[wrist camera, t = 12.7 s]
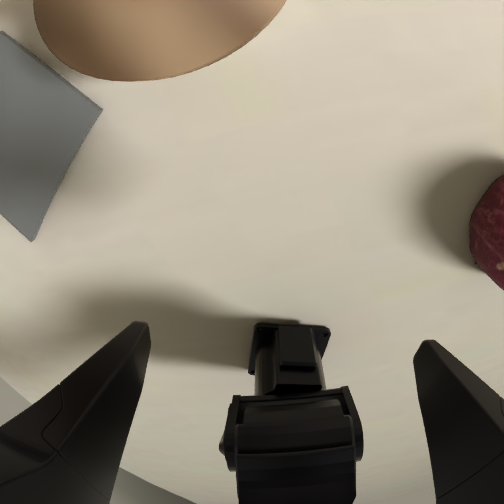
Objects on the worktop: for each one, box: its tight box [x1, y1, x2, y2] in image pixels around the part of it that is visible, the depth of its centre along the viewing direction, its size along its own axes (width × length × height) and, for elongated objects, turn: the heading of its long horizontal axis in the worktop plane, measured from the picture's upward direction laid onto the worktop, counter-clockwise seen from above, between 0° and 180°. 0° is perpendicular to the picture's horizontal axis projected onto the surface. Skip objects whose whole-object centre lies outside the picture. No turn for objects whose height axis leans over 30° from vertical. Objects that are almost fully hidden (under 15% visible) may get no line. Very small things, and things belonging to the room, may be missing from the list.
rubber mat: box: [0, 31, 103, 242], centre depth 18 cm, size 13×13×1 cm
